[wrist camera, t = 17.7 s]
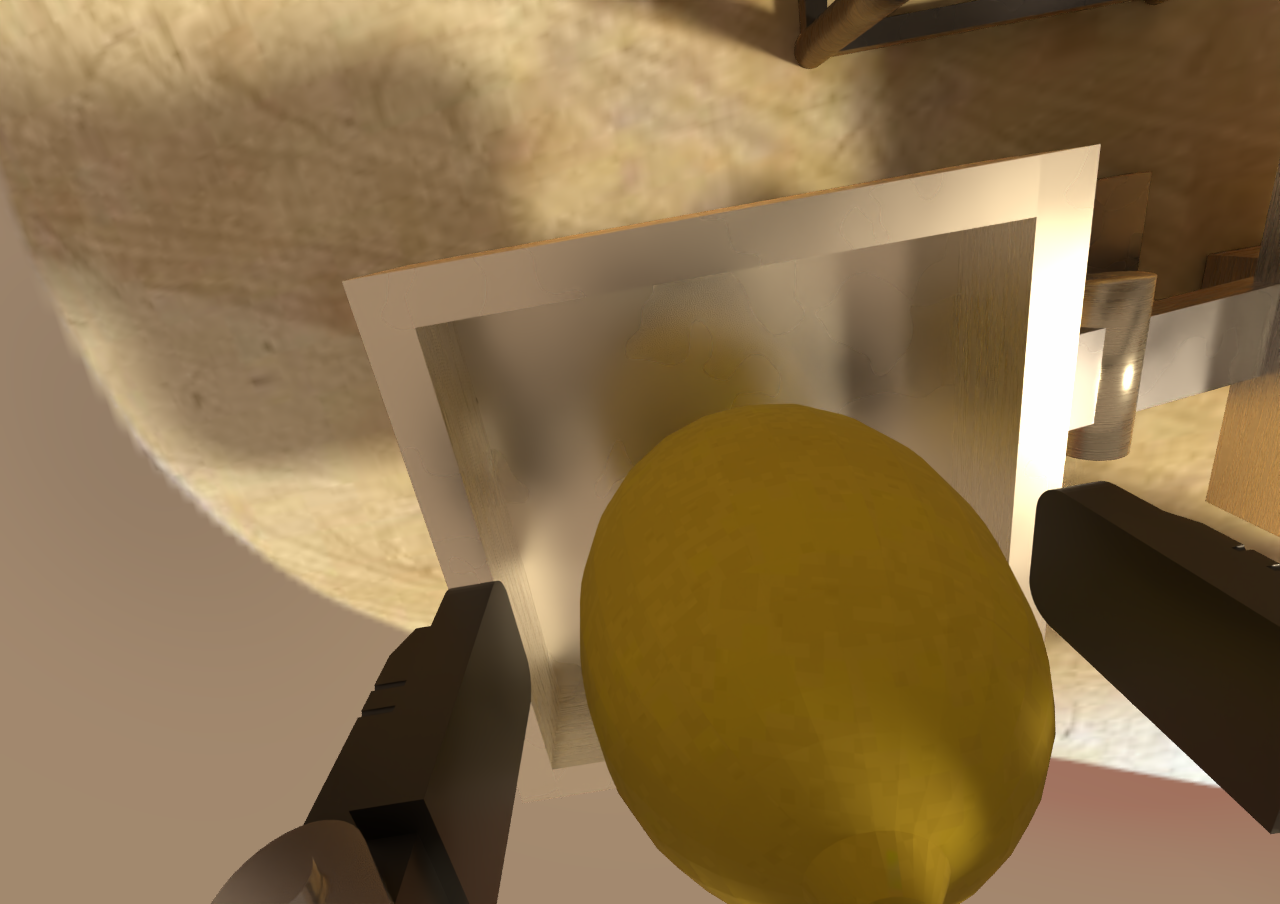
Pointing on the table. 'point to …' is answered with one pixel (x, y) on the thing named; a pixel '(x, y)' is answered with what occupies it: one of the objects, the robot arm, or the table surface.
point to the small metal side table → (910, 22)
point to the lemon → (812, 665)
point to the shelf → (804, 369)
